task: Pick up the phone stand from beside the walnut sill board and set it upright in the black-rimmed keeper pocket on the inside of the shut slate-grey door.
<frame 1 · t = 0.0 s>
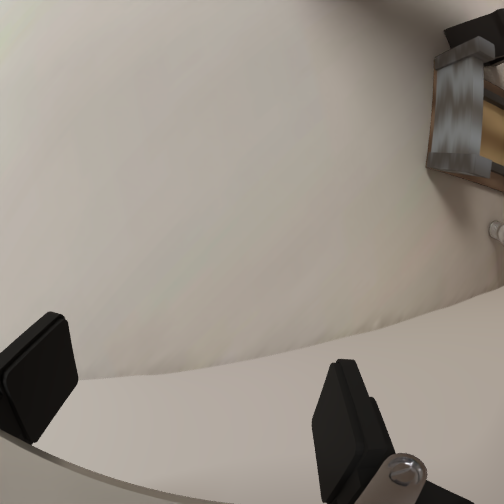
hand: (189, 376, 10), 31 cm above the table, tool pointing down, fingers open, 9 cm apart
lightbulb: (491, 228, 39), on the table
phone stand: (470, 48, 31), on the table
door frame: (479, 129, 35), on the table
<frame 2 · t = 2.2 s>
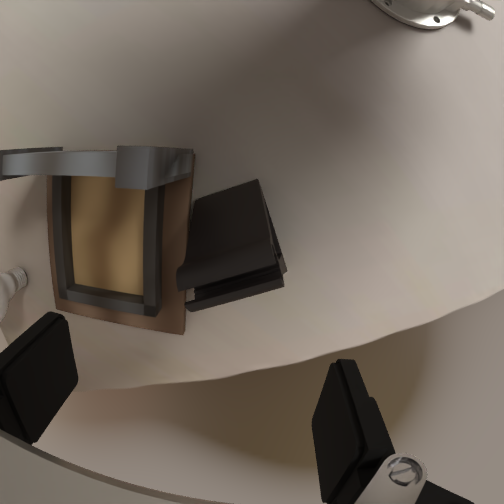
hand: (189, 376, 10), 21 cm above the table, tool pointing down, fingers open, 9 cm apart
lightbulb: (23, 274, 32), on the table
phone stand: (242, 234, 30), on the table
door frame: (113, 240, 30), on the table
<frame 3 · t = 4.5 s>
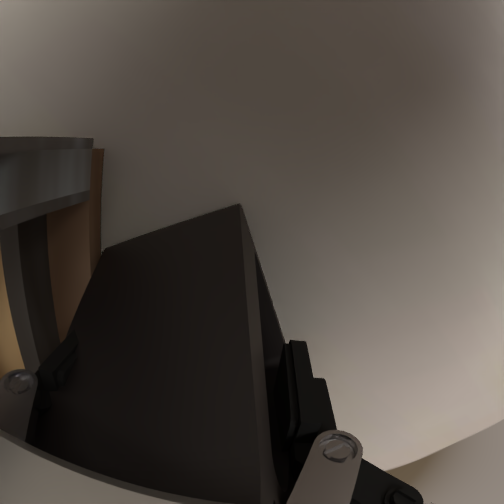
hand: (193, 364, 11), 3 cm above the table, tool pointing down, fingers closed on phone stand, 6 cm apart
phone stand: (207, 320, 14), on the table, touching gripper
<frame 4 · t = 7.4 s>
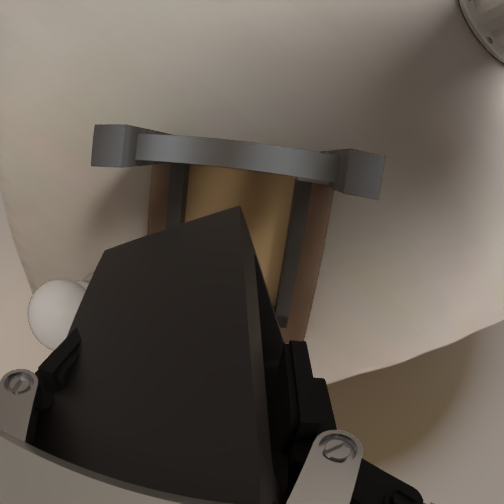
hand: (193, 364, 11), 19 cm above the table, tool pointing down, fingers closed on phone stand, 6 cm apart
lightbulb: (99, 282, 31), on the table
phone stand: (207, 321, 14), point 16 cm above the table, touching gripper
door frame: (233, 245, 30), on the table
when the fingers open (6 cm above the table, at t = 10.3 s): phone stand stays where it is, resting on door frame.
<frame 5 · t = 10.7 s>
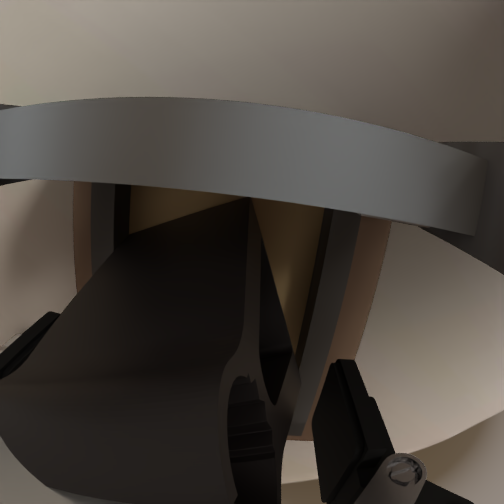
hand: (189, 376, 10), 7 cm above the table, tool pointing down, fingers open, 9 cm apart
phone stand: (216, 308, 15), point 2 cm above the table, touching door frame
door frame: (215, 309, 17), on the table
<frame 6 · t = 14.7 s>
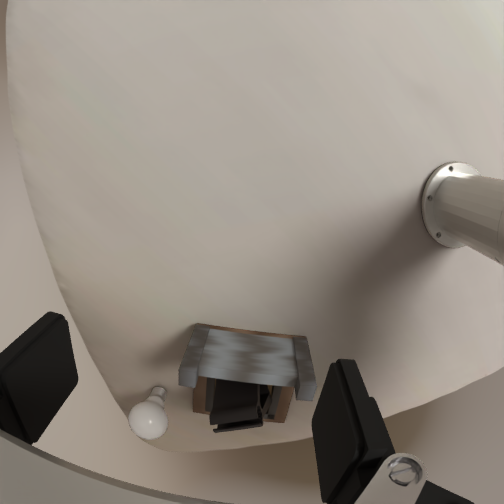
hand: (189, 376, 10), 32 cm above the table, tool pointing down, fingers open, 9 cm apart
lightbulb: (160, 389, 50), on the table
phone stand: (246, 380, 46), point 2 cm above the table, touching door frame
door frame: (244, 377, 48), on the table
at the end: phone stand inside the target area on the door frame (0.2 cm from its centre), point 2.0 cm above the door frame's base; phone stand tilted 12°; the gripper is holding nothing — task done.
